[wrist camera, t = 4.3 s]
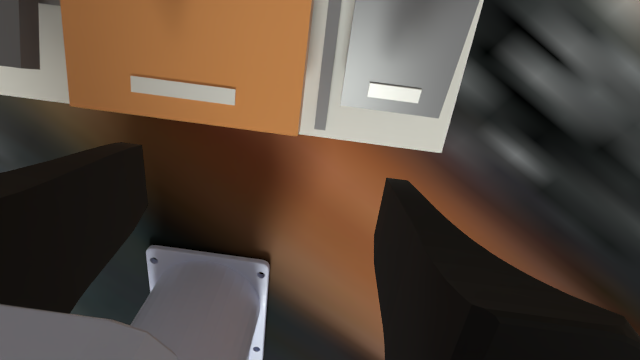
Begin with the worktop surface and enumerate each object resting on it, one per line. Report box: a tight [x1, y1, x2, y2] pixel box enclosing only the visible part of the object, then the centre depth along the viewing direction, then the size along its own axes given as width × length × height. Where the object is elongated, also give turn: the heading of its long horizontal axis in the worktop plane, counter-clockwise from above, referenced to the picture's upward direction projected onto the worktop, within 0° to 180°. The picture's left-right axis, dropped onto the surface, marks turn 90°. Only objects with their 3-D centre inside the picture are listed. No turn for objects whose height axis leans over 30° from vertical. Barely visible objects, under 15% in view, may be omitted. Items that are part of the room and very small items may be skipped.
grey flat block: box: [340, 0, 480, 118], centre depth 15 cm, size 6×4×1 cm
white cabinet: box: [0, 0, 484, 153], centre depth 18 cm, size 10×22×4 cm, turn 84°
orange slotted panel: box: [60, 0, 314, 136], centre depth 15 cm, size 8×9×1 cm
